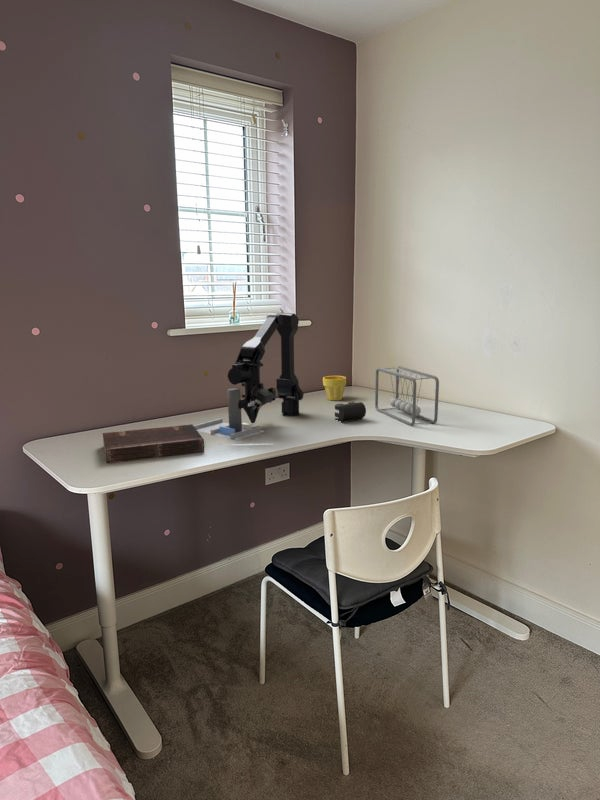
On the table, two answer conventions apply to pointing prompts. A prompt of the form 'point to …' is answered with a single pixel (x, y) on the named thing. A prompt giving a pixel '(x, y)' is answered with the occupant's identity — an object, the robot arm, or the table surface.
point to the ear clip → (247, 425)
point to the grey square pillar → (234, 409)
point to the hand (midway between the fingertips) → (253, 423)
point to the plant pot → (334, 387)
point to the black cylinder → (350, 411)
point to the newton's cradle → (405, 405)
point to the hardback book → (152, 443)
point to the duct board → (225, 429)
